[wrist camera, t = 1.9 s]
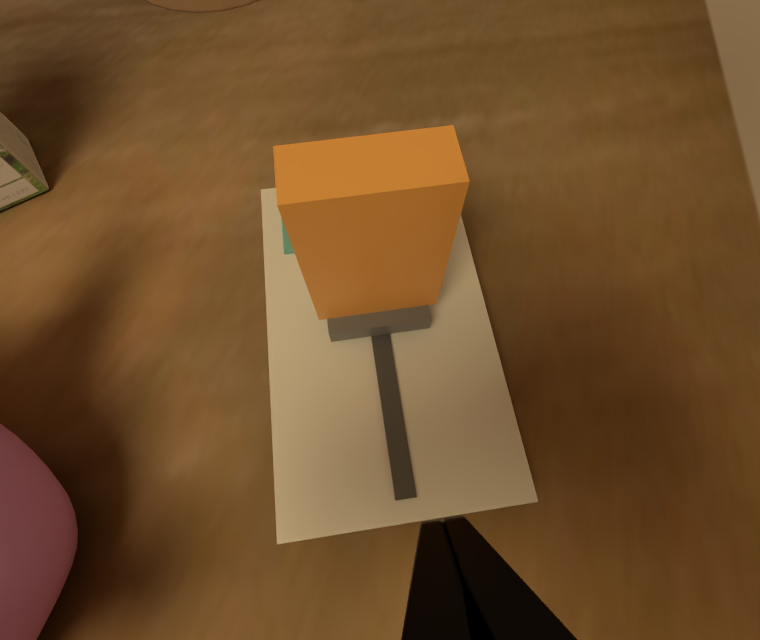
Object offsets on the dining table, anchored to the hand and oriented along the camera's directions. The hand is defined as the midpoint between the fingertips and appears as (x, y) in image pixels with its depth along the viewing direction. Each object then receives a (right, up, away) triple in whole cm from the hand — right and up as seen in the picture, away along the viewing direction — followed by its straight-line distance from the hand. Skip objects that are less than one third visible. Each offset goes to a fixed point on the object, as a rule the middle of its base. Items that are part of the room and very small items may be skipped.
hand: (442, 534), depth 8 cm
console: (-1, +3, +16) cm, 17 cm away
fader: (-1, +5, +15) cm, 16 cm away
